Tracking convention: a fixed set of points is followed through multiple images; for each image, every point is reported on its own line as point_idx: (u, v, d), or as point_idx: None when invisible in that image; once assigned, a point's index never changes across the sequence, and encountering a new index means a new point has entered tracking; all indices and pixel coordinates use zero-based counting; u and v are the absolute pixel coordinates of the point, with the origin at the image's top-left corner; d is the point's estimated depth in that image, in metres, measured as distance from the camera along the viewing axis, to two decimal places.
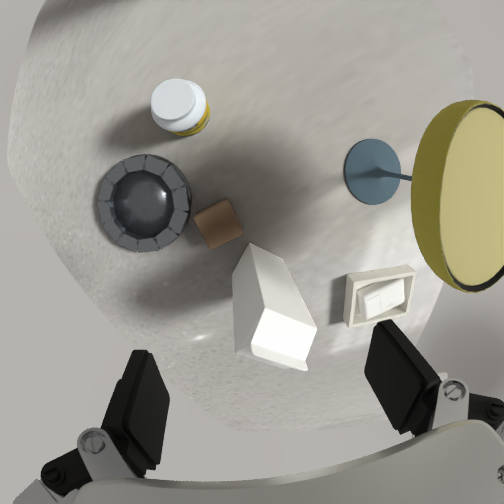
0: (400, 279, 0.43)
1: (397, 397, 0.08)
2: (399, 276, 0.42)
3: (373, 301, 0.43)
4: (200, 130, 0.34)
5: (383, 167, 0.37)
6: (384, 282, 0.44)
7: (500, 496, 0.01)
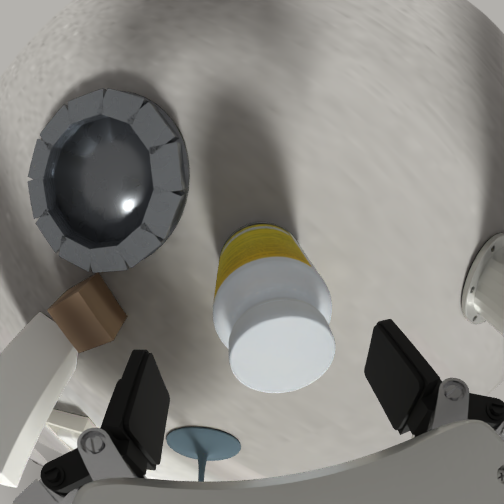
0: None
1: (397, 397, 0.08)
2: None
3: (74, 443, 0.27)
4: None
5: (209, 455, 0.30)
6: None
7: (500, 496, 0.01)
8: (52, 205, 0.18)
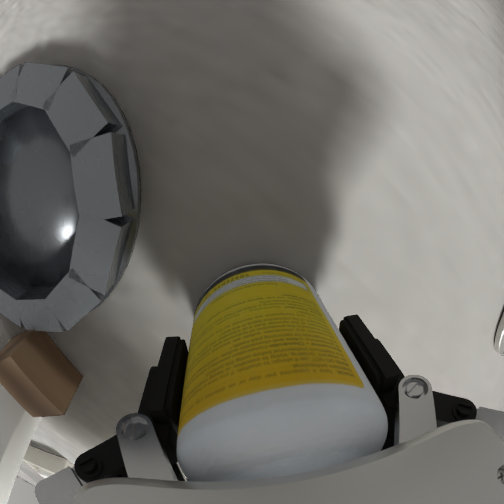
0: None
1: None
2: None
3: None
4: None
5: None
6: None
7: (500, 496, 0.01)
8: None
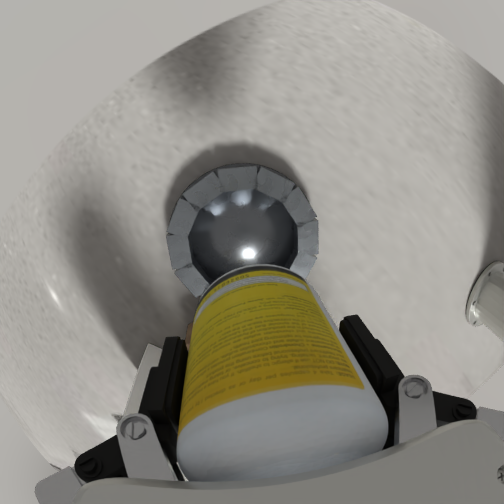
0: None
1: None
2: None
3: None
4: None
5: None
6: None
7: (500, 496, 0.01)
8: (192, 257, 0.26)
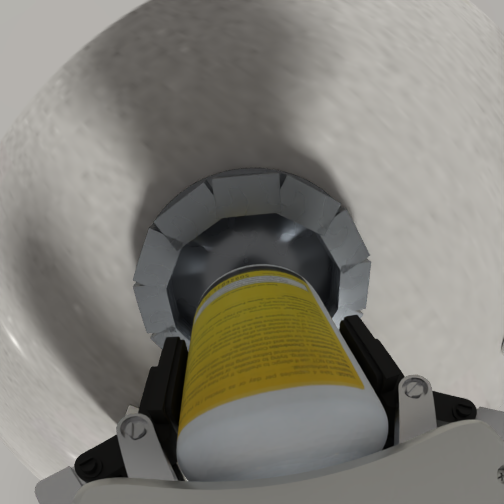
0: None
1: None
2: None
3: None
4: None
5: None
6: None
7: (500, 496, 0.01)
8: (176, 316, 0.16)
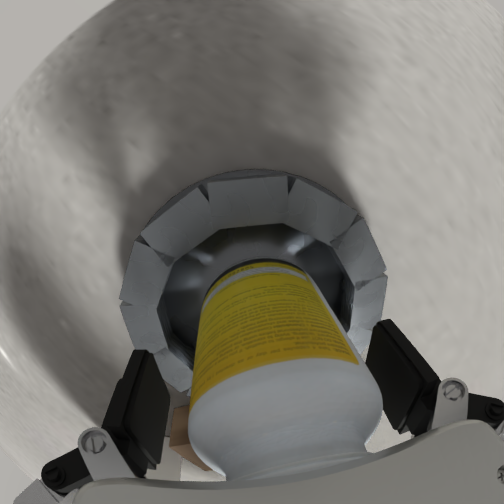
0: None
1: (397, 397, 0.08)
2: None
3: None
4: None
5: None
6: None
7: (500, 496, 0.01)
8: (169, 337, 0.14)
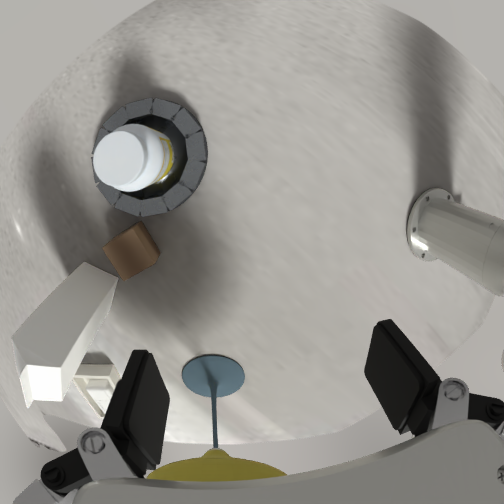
0: None
1: (397, 397, 0.08)
2: None
3: (104, 396, 0.38)
4: None
5: (219, 386, 0.42)
6: None
7: (500, 496, 0.01)
8: None
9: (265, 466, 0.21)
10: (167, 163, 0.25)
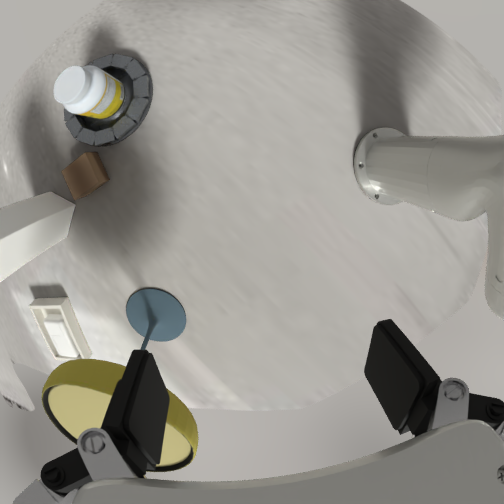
0: (76, 354, 0.42)
1: (397, 397, 0.08)
2: (77, 347, 0.41)
3: (58, 330, 0.39)
4: None
5: (159, 325, 0.42)
6: None
7: (500, 496, 0.01)
8: None
9: None
10: (112, 95, 0.26)
